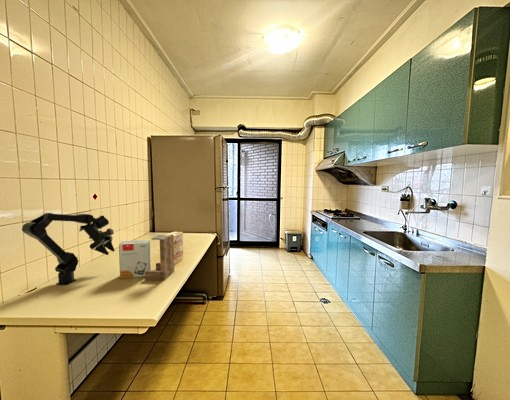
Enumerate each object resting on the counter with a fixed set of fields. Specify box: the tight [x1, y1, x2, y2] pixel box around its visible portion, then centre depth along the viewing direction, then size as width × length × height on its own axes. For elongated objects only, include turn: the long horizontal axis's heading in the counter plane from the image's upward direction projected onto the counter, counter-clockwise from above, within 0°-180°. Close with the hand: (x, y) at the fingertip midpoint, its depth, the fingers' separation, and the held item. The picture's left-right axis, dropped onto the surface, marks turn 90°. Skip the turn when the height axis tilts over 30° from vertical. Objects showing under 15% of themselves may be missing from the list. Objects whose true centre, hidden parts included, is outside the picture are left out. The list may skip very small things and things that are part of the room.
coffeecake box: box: [166, 231, 184, 265], centre depth 165 cm, size 15×7×20 cm, turn 168°
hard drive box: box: [118, 239, 152, 279], centre depth 141 cm, size 16×8×20 cm, turn 105°
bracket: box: [144, 234, 175, 282], centre depth 140 cm, size 14×11×23 cm
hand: (111, 252), depth 146 cm, fingers open, 9 cm apart
